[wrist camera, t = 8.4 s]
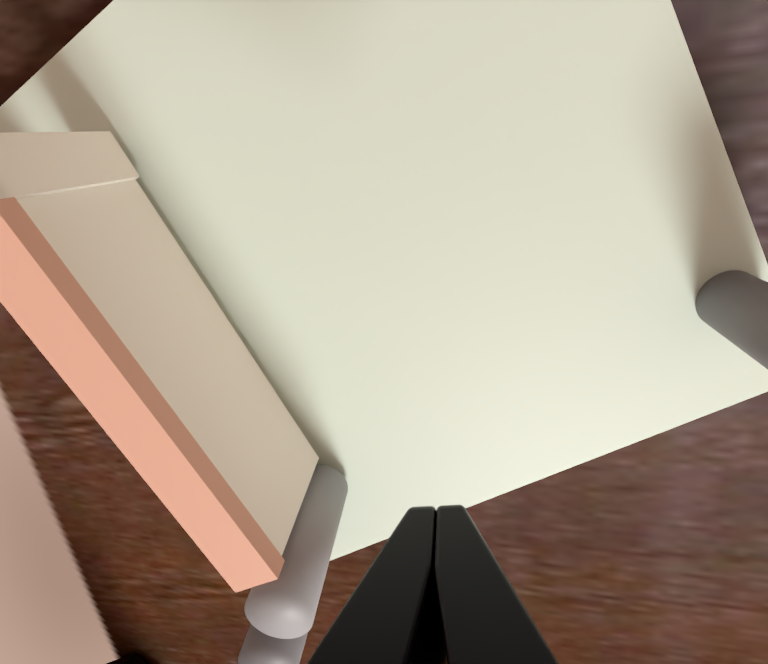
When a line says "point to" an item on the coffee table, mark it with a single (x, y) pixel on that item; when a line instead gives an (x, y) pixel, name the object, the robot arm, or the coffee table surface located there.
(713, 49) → the coffee table surface
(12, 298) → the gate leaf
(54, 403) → the coffee table surface
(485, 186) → the gate base
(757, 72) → the coffee table surface
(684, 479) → the coffee table surface
